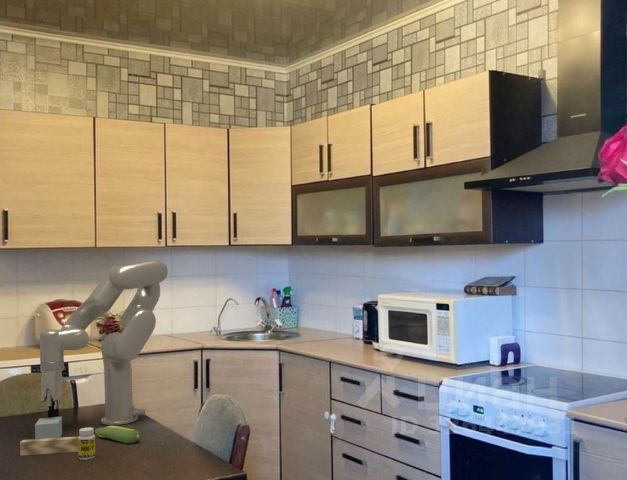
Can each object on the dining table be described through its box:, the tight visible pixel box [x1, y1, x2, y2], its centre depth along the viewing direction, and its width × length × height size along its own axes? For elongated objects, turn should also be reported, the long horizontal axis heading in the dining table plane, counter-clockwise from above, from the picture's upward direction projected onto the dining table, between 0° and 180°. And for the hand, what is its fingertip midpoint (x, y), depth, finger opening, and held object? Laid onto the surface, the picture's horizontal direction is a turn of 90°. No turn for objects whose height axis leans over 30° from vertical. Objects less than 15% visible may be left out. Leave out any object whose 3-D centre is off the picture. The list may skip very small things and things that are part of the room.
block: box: [34, 416, 63, 439], centre depth 224 cm, size 7×9×6 cm
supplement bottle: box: [77, 427, 96, 461], centre depth 201 cm, size 5×5×8 cm
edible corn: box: [94, 425, 140, 444], centre depth 220 cm, size 5×20×5 cm, turn 55°
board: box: [19, 436, 79, 457], centre depth 208 cm, size 20×2×4 cm, turn 96°
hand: (53, 420), depth 230 cm, fingers closed
